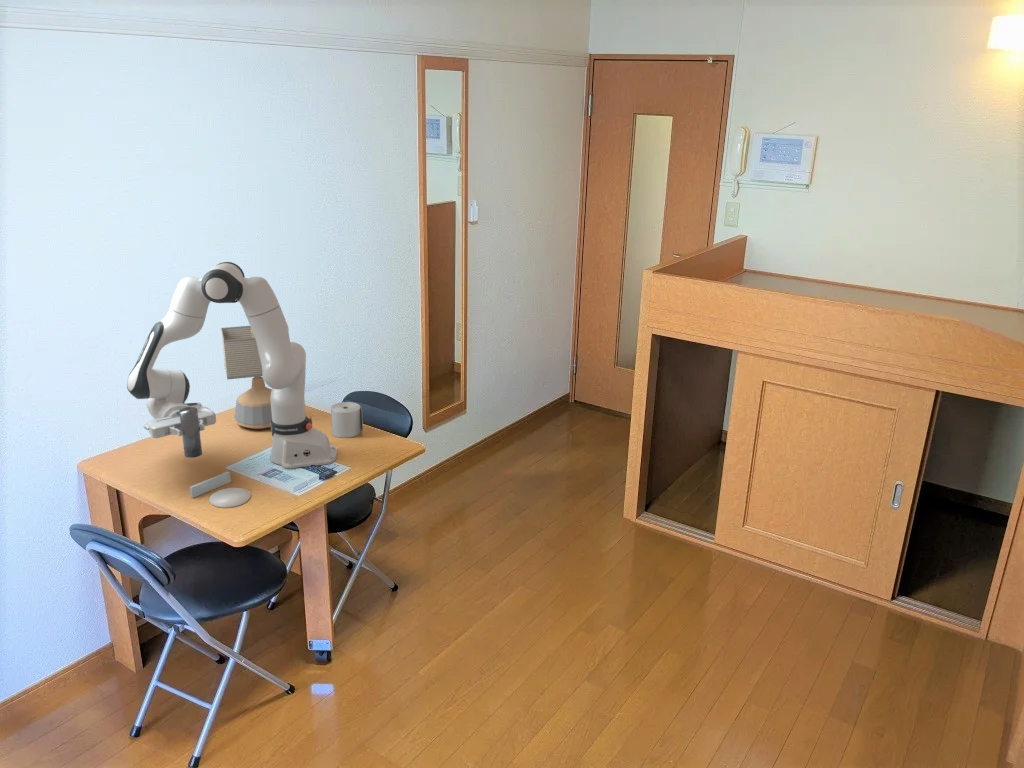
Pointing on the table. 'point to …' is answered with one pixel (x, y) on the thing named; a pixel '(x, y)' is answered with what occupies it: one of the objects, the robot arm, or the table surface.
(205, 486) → the acrylic wall
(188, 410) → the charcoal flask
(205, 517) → the table surface
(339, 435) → the toilet tissue
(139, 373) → the robot arm
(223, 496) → the resting pad
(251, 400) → the desk lamp
